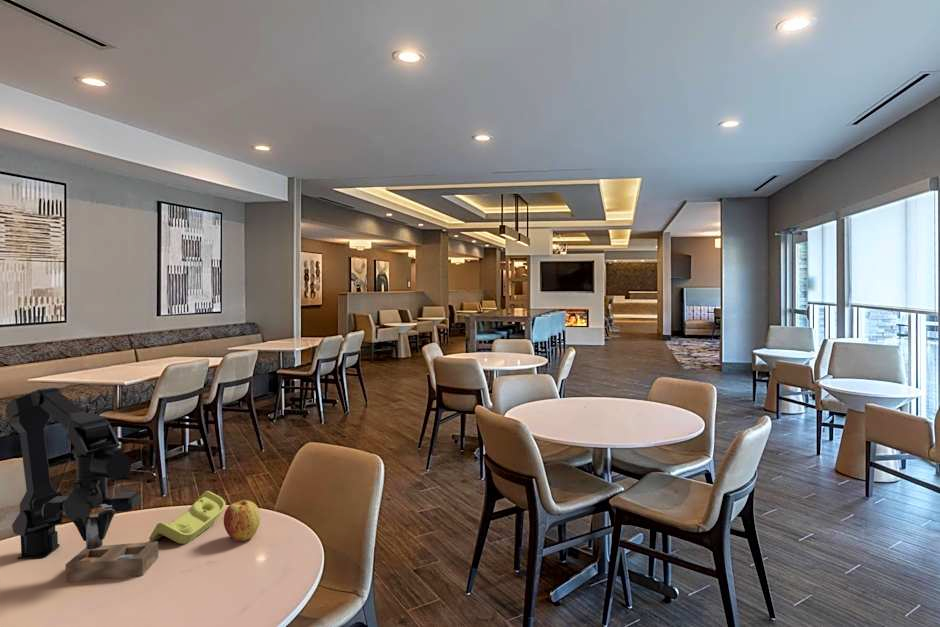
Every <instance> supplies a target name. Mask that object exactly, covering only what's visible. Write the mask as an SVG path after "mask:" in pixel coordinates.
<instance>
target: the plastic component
mask: <svg viewBox="0 0 940 627" xmlns="http://www.w3.org/2000/svg"><path fill="white" fill-rule="evenodd" d="M225 508H226V500H224V499H223V497H221V496H220V495H217V494H216V493H214V492H212V491H210V490H205V491H204V492H203V493H202V494H201V495H200V496H199V497H198V499H197V500H196V501H195V502H194V503H193V504H192V505H191V506H190V507H189V508H188V509H187V510H186V511H185V512H184V513H182V514H181V515H180V516H179V515H178V517H176V518H175V519H173V521H171V522H169V523H166V522H163V521H160V522H158V523H157V524H156V525H155V527H154V529H153V531H152V532H151V534H150V536H149V540H150V542H155V541H157V540H159V539H160V538H162V537H163V536H164V537H166V538H168V539H170V540H171V541H173V542H175V543H177V544H180V545H186V544H189V543H190V542H192V541H193V540H195V539H196V538H197V537H198V536H200V535H201V534H203V533H204V531H206V530H207V529H208V528H210V527H211V526H212V525H213V523H214V522H215V520H217V518H219V517H220V515H221V514H222V513H223V511H224V510H225Z"/></svg>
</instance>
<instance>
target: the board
mask: <svg viewBox="0 0 940 627" xmlns="http://www.w3.org/2000/svg"><path fill="white" fill-rule="evenodd" d="M157 559H159V541H157V540H156V541H146V542H144V541H143V542H133V543H132V542H131V543H119V544H108V545H107V544H106V545H102V546H101V547H99V548H96V549H86V547H85V548H83V549H82V550H80V552H78V553H77V554H76V555H75V556H74V557H73V558H71V559H70V560H69V561H68V562H66V564H64V565H65V567H64V568H65V569H64V570H65V583H72V582H82V581H84V582H85V581H95V580H96V581H97V580H105V579H106V580H108V579H119V578H130V577H140V576H141V577H142V576H144V575H145V573H146V572H148V570H149V569H150V568H151V567H152V566H153V564H154V563H155V562H156V561H157Z"/></svg>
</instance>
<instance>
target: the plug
mask: <svg viewBox="0 0 940 627" xmlns="http://www.w3.org/2000/svg"><path fill="white" fill-rule="evenodd" d="M98 514H99V513H94V514H89V516H87V517H85V528H86V541H85V548H86V549H96V548H99V547H101V546H104V544H103V541H104V539H103V540H101V539H100V518H99V516H98Z"/></svg>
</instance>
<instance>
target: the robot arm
mask: <svg viewBox="0 0 940 627" xmlns="http://www.w3.org/2000/svg"><path fill="white" fill-rule="evenodd" d="M5 414H6V416H7V417H8V422H9V425H10V426H11V427H13V428H14V429H15V430H16V431H17V432H18V433H19V434H18V435H19V440H20V449H21V456H22V457H21V458H22V465H23V473H24V481H25V488H26V489H25V490H26V491H25V493H24V495H23V498H22V499H21V501H20V503H19V513H18V515H17V516H16V518H15V519H14V522H12V525H11V528H12V531H13V534H15V535H17V536H20V552H21V553H20V554H19V555H18V556H17V557H16V558H17V560H25V559H26V560H27V559H36V558H37V559H39V558H45V557H47V556H49V555H50V554H51V553H53V552H54V551H56V550H57V549H58V548H60V545H61V544H60V543H59V540H58V539H59V538H58V530H56V526H57V525H61V524H62V521H63V519H68V520H70V521H71V522H72V523H73V524H74V525H75V527H76V529H77V531H78V532H79V534H80V537H81V539H82V540H83V542H86V528H85V517H87V516H89V515H90V514H91V512H92V510H93V509H99V508H101V509H102V511H100V512H99V513H97V514H98V516H99V518H100V539H101V540H103V541H104V539H105V537H106V535H107V533H108V530H109V527H110V525H111V522H112V520H113V518H114V516H115V514H116V512H117V513H119V512H129V511H132V510H134V508H135V507H137V506H138V505H139V504H140V503H141V502H142V495H141V494H140V492H139V491H138V490H137V491H122V492H121V493H119V494H118V495H117V496H115V497H109V496H110V495H111V491H110V490H108V479H110V480H120V479H123V478H125V477H126V476H127V475H128V474H129V472H130V470H131V469H132V465H133V464H132V460H131V457H130V456H129V455H127V454H126V453H124V452H123V447H120V446H121V444H120V442H119V439H120V438H119V437H118V435H117V434H116V433H115V431H114V428H113V427H112V425H111V423H110V422H109V421H108V420H107V418H105V417H103V416H101V415H99V414H97V413H90V412H89V413H88V412H86V411H84V410H82V408H80V407H79V406H78V405H77V404H75V403H74V402H73V401H72V400H70V399H69V398H68V397H67V396H65V395H64V394H63V393H62V391H61V389H60V388H58V387H55V386H54V387H47V388H41V389H36V390H33V391H32V392H30V393H28V394H25V395H21V396H19V397H13V398H11V399H10V401H9V402H8V403H7V404H6V405H5ZM51 417H52V419H54V420H55V421H57V422H58V423H59V424H60V425H61V426H63V427H64V428H65V430H66V436H65V437H66V438H67V439H68V441H69V442H70V443H71V444H72V446H73V447H74V448H73V449H72V450H71V454H73V455H75V460H76V461H75V463H76V481H73V486H72V487H73V488H72V492H71V493H70V494H69V495H63V493H61V491H57V490H56V489H54V487H53V486H52V482H51V474H50V467H49V460H48V459H49V458H48V450H47V442H46V435H45V434H46V432H45V428H46V426H47V425H48V422H49V421H50V419H51Z"/></svg>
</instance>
